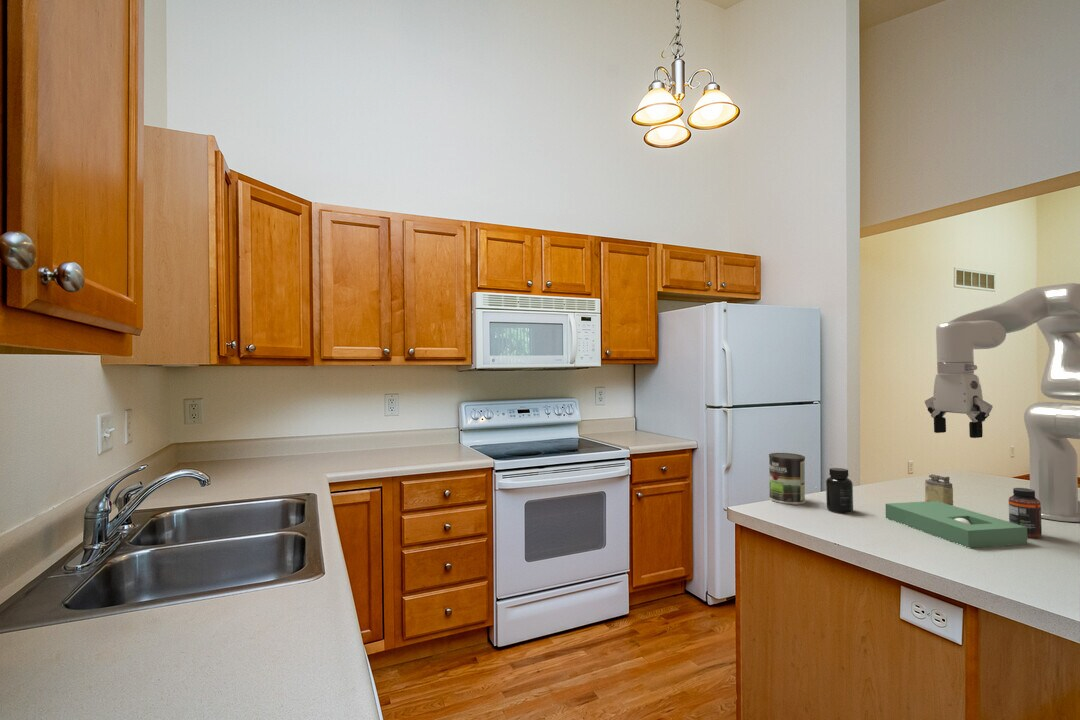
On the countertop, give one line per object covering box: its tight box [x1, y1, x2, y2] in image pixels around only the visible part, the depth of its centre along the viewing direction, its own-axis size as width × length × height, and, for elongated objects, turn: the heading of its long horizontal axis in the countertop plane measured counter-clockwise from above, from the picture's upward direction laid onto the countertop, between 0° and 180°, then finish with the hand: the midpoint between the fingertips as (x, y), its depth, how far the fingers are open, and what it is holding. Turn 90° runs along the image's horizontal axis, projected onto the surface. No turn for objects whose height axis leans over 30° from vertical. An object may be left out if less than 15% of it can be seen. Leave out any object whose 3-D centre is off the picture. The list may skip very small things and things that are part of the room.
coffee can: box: [768, 452, 806, 505], centre depth 165 cm, size 10×10×14 cm
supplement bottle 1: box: [825, 467, 854, 514], centre depth 153 cm, size 7×7×12 cm
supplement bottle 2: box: [1008, 487, 1043, 539], centre depth 130 cm, size 6×6×11 cm
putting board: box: [885, 501, 1028, 548], centre depth 134 cm, size 16×24×4 cm, turn 8°
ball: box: [954, 518, 971, 525], centre depth 130 cm, size 4×4×4 cm
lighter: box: [924, 473, 954, 506], centre depth 153 cm, size 7×4×10 cm, turn 23°
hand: (957, 434), depth 136 cm, fingers open, 9 cm apart
